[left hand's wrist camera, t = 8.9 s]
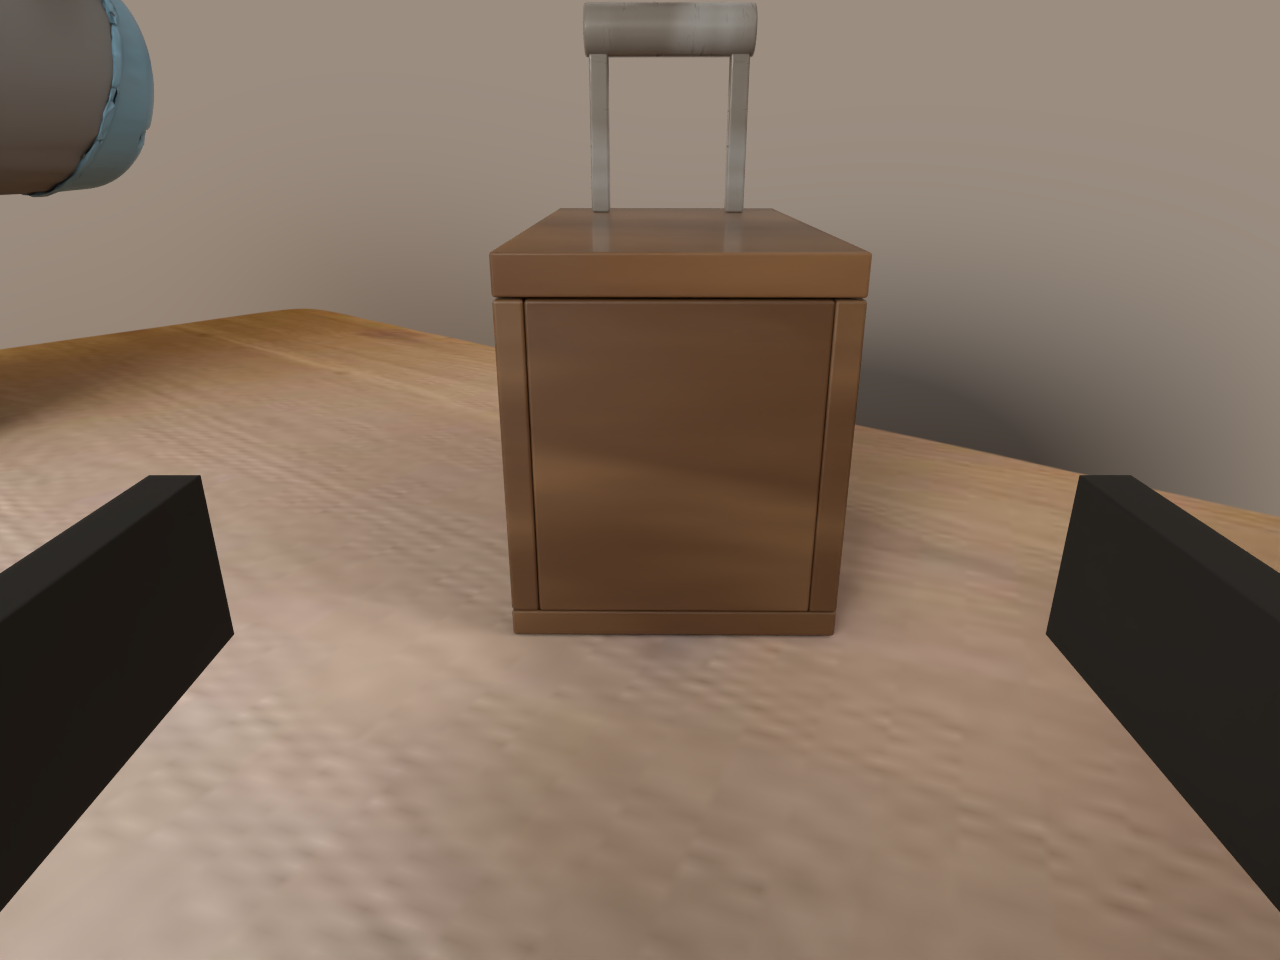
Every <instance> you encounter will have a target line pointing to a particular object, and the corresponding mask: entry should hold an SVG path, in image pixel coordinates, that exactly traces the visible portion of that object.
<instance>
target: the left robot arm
mask: <svg viewBox="0 0 1280 960" xmlns="http://www.w3.org/2000/svg"><path fill="white" fill-rule="evenodd" d="M233 635H234V631H233V626H232V622H231V617H230V612H229V607H228V603H227V598H226V593H225V589H224V584H223V579H222V575H221V570H220V565H219V560H218V556H217V551H216V546H215V542H214V537H213V532H212V527H211V523H210V518H209V513H208V509H207V504H206V499H205V495H204V490H203V485H202V480H201V476H200V475H149V476H147V477H146V478H144V479H143V480H141V481H140V482H138V483H137V484H135V485H134V486H132V487H131V488H129V489H128V490H126V491H125V492H123V493H122V494H120V495H119V496H117V497H116V498H114V499H112V500H111V501H109V502H108V503H106V504H105V505H103V506H102V507H100V508H99V509H97V510H96V511H94V512H93V513H91V514H90V515H88V516H87V517H85V518H84V519H82V520H81V521H79V522H78V523H76V524H75V525H73V526H71V527H70V528H68V529H67V530H65V531H64V532H62V533H61V534H59V535H58V536H56V537H55V538H53V539H52V540H50V541H49V542H47V543H46V544H44V545H43V546H41V547H40V548H38V549H37V550H35V551H34V552H32V553H30V554H29V555H27V556H26V557H24V558H23V559H21V560H20V561H18V562H17V563H15V564H14V565H12V566H11V567H9V568H8V569H6V570H5V571H3V572H2V573H0V912H1V910H2V909H3V908H4V907H5V906H6V904H7V903H8V902H9V901H10V900H11V899H12V897H13V896H14V895H15V894H16V893H17V891H18V890H19V889H20V888H21V887H22V885H23V884H24V883H25V882H26V881H27V880H28V878H29V877H30V876H31V875H32V874H33V872H34V871H35V870H36V869H37V868H38V866H39V865H40V864H41V863H42V862H43V861H44V859H45V858H46V857H47V856H48V855H49V853H50V852H51V851H52V850H53V849H54V847H55V846H56V845H57V844H58V843H59V842H60V840H61V839H62V838H63V837H64V836H65V834H66V833H67V832H68V831H69V830H70V828H71V827H72V826H73V825H74V824H75V823H76V821H77V820H78V819H79V818H80V817H81V815H82V814H83V813H84V812H85V811H86V809H87V808H88V807H89V806H90V805H91V804H92V802H93V801H94V800H95V799H96V798H97V796H98V795H99V794H100V793H101V792H102V790H103V789H104V788H105V787H106V786H107V785H108V783H109V782H110V781H111V780H112V779H113V777H114V776H115V775H116V774H117V773H118V771H119V770H120V769H121V768H122V767H123V766H124V764H125V763H126V762H127V761H128V760H129V758H130V757H131V756H132V755H133V754H134V752H135V751H136V750H137V749H138V748H139V747H140V745H141V744H142V743H143V742H144V741H145V739H146V738H147V737H148V736H149V735H150V733H151V732H152V731H153V730H154V729H155V728H156V726H157V725H158V724H159V723H160V722H161V720H162V719H163V718H164V717H165V716H166V714H167V713H168V712H169V711H170V710H171V709H172V707H173V706H174V705H175V704H176V703H177V701H178V700H179V699H180V698H181V697H182V695H183V694H184V693H185V692H186V691H187V690H188V688H189V687H190V686H191V685H192V684H193V682H194V681H195V680H196V679H197V678H198V676H199V675H200V674H201V673H202V672H203V671H204V669H205V668H206V667H207V666H208V665H209V663H210V662H211V661H212V660H213V659H214V657H215V656H216V655H217V654H218V653H219V652H220V650H221V649H222V648H223V647H224V646H225V644H226V643H227V642H228V641H229V640H230V638H231V637H232V636H233ZM1046 635H1047V636H1048V637H1049V638H1050V640H1051V641H1052V642H1053V643H1054V644H1055V646H1056V647H1057V648H1058V649H1059V650H1060V652H1061V653H1062V654H1063V655H1064V656H1065V657H1066V659H1067V660H1068V661H1069V662H1070V663H1071V665H1072V666H1073V667H1074V668H1075V669H1076V671H1077V672H1078V673H1079V674H1080V675H1081V676H1082V678H1083V679H1084V680H1085V681H1086V682H1087V684H1088V685H1089V686H1090V687H1091V688H1092V690H1093V691H1094V692H1095V693H1096V694H1097V695H1098V697H1099V698H1100V699H1101V700H1102V701H1103V703H1104V704H1105V705H1106V706H1107V707H1108V709H1109V710H1110V711H1111V712H1112V713H1113V714H1114V716H1115V717H1116V718H1117V719H1118V720H1119V722H1120V723H1121V724H1122V725H1123V726H1124V728H1125V729H1126V730H1127V731H1128V732H1129V733H1130V735H1131V736H1132V737H1133V738H1134V739H1135V741H1136V742H1137V743H1138V744H1139V745H1140V747H1141V748H1142V749H1143V750H1144V751H1145V752H1146V754H1147V755H1148V756H1149V757H1150V758H1151V760H1152V761H1153V762H1154V763H1155V764H1156V766H1157V767H1158V768H1159V769H1160V770H1161V771H1162V773H1163V774H1164V775H1165V776H1166V777H1167V779H1168V780H1169V781H1170V782H1171V783H1172V785H1173V786H1174V787H1175V788H1176V789H1177V790H1178V792H1179V793H1180V794H1181V795H1182V796H1183V798H1184V799H1185V800H1186V801H1187V802H1188V804H1189V805H1190V806H1191V807H1192V808H1193V809H1194V811H1195V812H1196V813H1197V814H1198V815H1199V817H1200V818H1201V819H1202V820H1203V821H1204V823H1205V824H1206V825H1207V826H1208V827H1209V828H1210V830H1211V831H1212V832H1213V833H1214V834H1215V836H1216V837H1217V838H1218V839H1219V840H1220V842H1221V843H1222V844H1223V845H1224V846H1225V847H1226V849H1227V850H1228V851H1229V852H1230V853H1231V855H1232V856H1233V857H1234V858H1235V859H1236V861H1237V862H1238V863H1239V864H1240V865H1241V866H1242V868H1243V869H1244V870H1245V871H1246V872H1247V874H1248V875H1249V876H1250V877H1251V878H1252V880H1253V881H1254V882H1255V883H1256V884H1257V885H1258V887H1259V888H1260V889H1261V890H1262V891H1263V893H1264V894H1265V895H1266V896H1267V897H1268V899H1269V900H1270V901H1271V902H1272V903H1273V904H1274V906H1275V907H1276V908H1277V909H1278V910H1279V912H1280V573H1278V572H1277V571H1275V570H1274V569H1272V568H1271V567H1269V566H1268V565H1266V564H1265V563H1263V562H1262V561H1260V560H1259V559H1257V558H1256V557H1254V556H1253V555H1251V554H1250V553H1248V552H1246V551H1245V550H1243V549H1242V548H1240V547H1239V546H1237V545H1236V544H1234V543H1233V542H1231V541H1230V540H1228V539H1227V538H1225V537H1224V536H1222V535H1221V534H1219V533H1218V532H1216V531H1215V530H1213V529H1212V528H1210V527H1209V526H1207V525H1205V524H1204V523H1202V522H1201V521H1199V520H1198V519H1196V518H1195V517H1193V516H1192V515H1190V514H1189V513H1187V512H1186V511H1184V510H1183V509H1181V508H1180V507H1178V506H1177V505H1175V504H1174V503H1172V502H1171V501H1169V500H1168V499H1166V498H1164V497H1163V496H1161V495H1160V494H1158V493H1157V492H1155V491H1154V490H1152V489H1151V488H1149V487H1148V486H1146V485H1145V484H1143V483H1142V482H1140V481H1139V480H1137V479H1136V478H1134V477H1133V476H1131V475H1080V476H1079V480H1078V485H1077V490H1076V495H1075V499H1074V504H1073V509H1072V513H1071V518H1070V523H1069V527H1068V532H1067V537H1066V542H1065V546H1064V551H1063V556H1062V560H1061V565H1060V570H1059V575H1058V579H1057V584H1056V589H1055V593H1054V598H1053V603H1052V607H1051V612H1050V617H1049V622H1048V626H1047V631H1046Z"/></svg>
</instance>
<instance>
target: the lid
mask: <svg viewBox="0 0 1280 960" xmlns="http://www.w3.org/2000/svg"><path fill="white" fill-rule="evenodd" d="M583 34H584V49H585V55H586V57H589V82H590V131H591V181H592V208H560V209H558V210H557V211H555V212H554V213H552V214H551V215H549V216H547V217H546V218H544V219H543V220H541V221H539V222H538V223H536V224H535V225H533V226H531V227H530V228H528V229H527V230H525V231H523V232H522V233H520V234H519V235H517V236H515V237H514V238H512V239H511V240H509V241H507V242H506V243H504V244H503V245H501V246H499V247H498V248H496V249H495V250H493V251H491V252H490V254H489V260H490V276H491V290H492V296H493V297H655V298H865V297H867V296H868V290H869V280H870V270H871V260H872V254H871V253H870V252H868V251H866V250H863V249H861V248H859V247H857V246H855V245H852V244H850V243H848V242H846V241H843V240H841V239H839V238H837V237H834V236H832V235H830V234H828V233H826V232H823V231H821V230H819V229H817V228H814V227H812V226H810V225H808V224H805V223H803V222H801V221H799V220H797V219H794V218H792V217H790V216H788V215H785V214H783V213H781V212H779V211H776V210H774V209H743V201H744V178H745V155H746V133H747V110H748V88H749V65H750V57H752V56H753V54H754V51H755V45H756V35H757V6H756V3H755V2H586V3H584V8H583ZM608 57H730V66H729V94H728V121H727V149H726V176H725V203H724V209H723V208H721V209H720V208H717V209H716V208H715V209H712V208H703V209H702V208H610V148H609V67H608Z"/></svg>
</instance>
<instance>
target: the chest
mask: <svg viewBox="0 0 1280 960" xmlns="http://www.w3.org/2000/svg"><path fill="white" fill-rule="evenodd" d="M492 304H493V319H494V334H495V350H496V365H497V380H498V396H499V411H500V426H501V441H502V457H503V472H504V487H505V503H506V518H507V533H508V549H509V564H510V579H511V594H512V607H513V627H514V633H516V634H688V635H833V633H834V625H835V615H836V613H835V610H836V604H837V594H838V585H839V575H840V565H841V555H842V545H843V535H844V525H845V515H846V506H847V496H848V486H849V476H850V466H851V456H852V446H853V437H854V427H855V417H856V407H857V397H858V387H859V377H860V367H861V358H862V347H863V338H864V328H865V318H866V308H867V302H866V300H864V299H863V298H655V297H496V298H495V299H494V300H493V303H492Z"/></svg>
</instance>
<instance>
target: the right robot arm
mask: <svg viewBox="0 0 1280 960" xmlns="http://www.w3.org/2000/svg"><path fill="white" fill-rule="evenodd" d="M153 103H154V83H153V74H152V68H151V61H150V57H149V53H148V50H147V46H146V43H145V40H144V38H143V35H142V33H141V30H140V28H139V26H138V24H137V22H136V20H135V19H134V17H133V15H132V14H131V12H130V11H129V9H128V8H127V7H126V5H125V4H124V3H123V2H122V1H121V0H0V195H8V194H22V195H29V196H32V197H45V196H49V195H52V194H54V193H57V192H61V191H71V190H81V189H90V188H95V187H99V186H103V185H106V184H108V183H110V182H112V181H114V180H115V179H117V178H118V177H120V176H121V175H122V174H124V173H125V172H126V171H127V170H128V169H129V168H130V166H131V165H132V164H133V163H134V161H135V160H136V159H137V157H138V155H139V154H140V152H141V149H142V147H143V145H144V139H145V132H146V130H148V129H149V127H150V125H151V120H152V114H153Z"/></svg>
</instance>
